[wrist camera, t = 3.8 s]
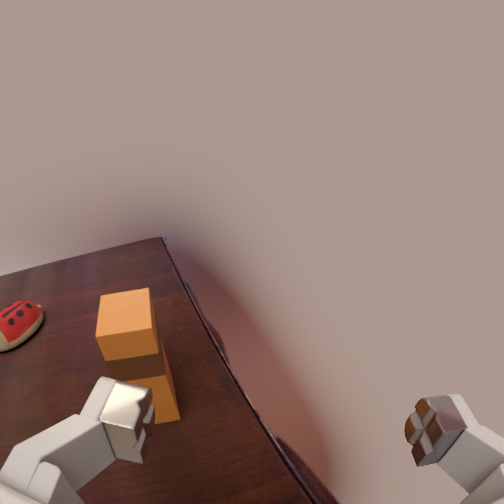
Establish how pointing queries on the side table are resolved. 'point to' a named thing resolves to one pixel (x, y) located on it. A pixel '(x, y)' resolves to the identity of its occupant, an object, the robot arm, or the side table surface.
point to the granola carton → (137, 348)
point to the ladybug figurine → (18, 323)
